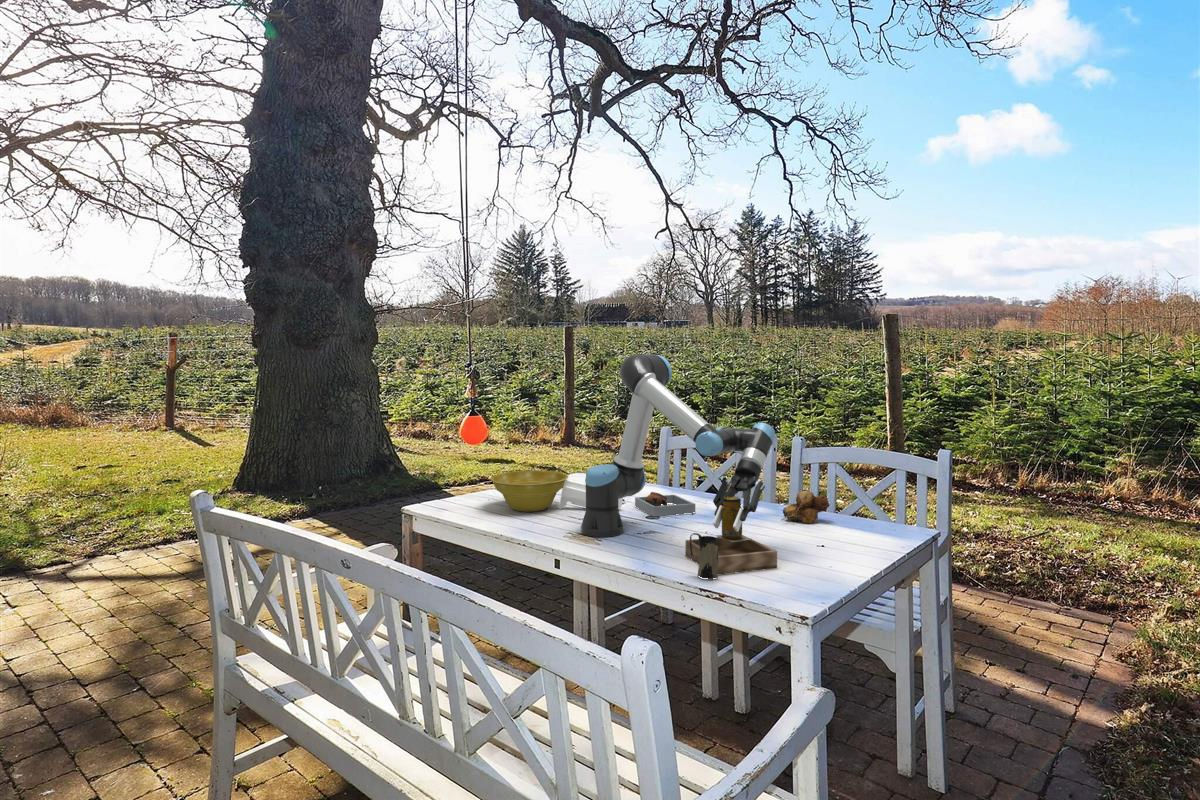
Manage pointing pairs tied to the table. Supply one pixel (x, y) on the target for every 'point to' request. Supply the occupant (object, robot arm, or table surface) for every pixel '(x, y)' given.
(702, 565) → the mug
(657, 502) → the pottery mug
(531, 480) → the planter bowl
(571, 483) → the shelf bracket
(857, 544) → the table surface
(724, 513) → the condiment
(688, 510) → the slate tray rim
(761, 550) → the walnut box
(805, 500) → the seed pod
